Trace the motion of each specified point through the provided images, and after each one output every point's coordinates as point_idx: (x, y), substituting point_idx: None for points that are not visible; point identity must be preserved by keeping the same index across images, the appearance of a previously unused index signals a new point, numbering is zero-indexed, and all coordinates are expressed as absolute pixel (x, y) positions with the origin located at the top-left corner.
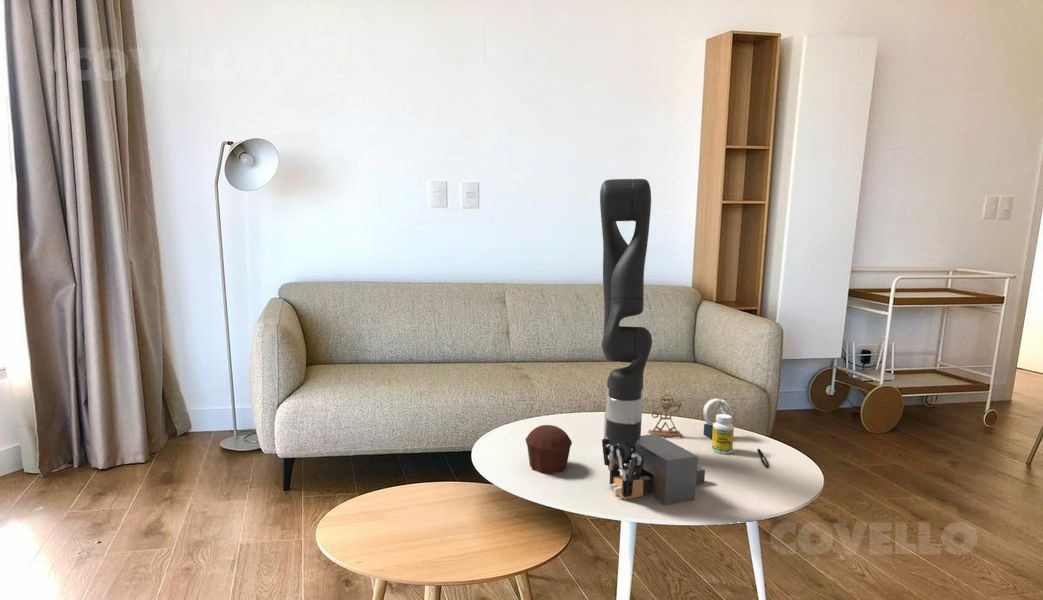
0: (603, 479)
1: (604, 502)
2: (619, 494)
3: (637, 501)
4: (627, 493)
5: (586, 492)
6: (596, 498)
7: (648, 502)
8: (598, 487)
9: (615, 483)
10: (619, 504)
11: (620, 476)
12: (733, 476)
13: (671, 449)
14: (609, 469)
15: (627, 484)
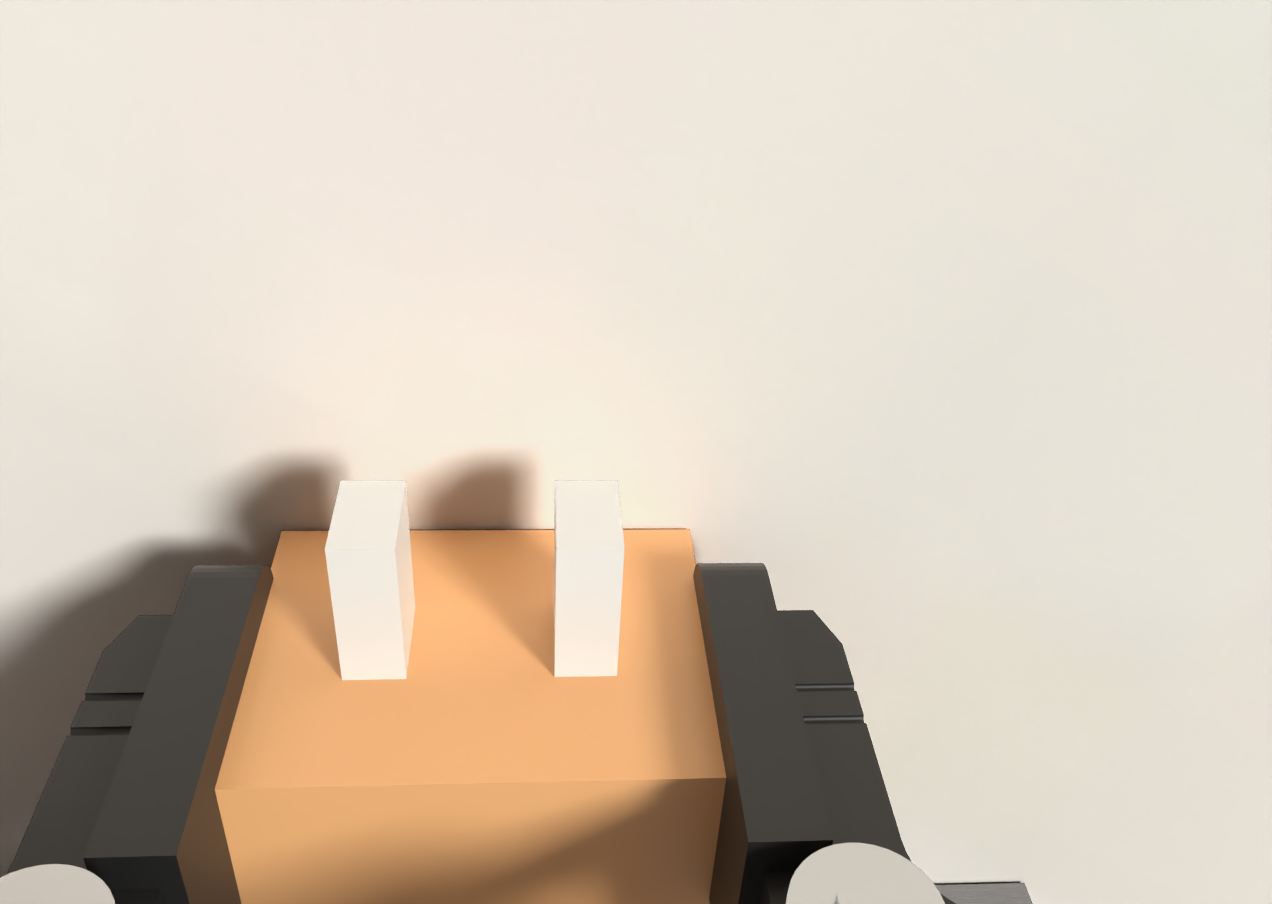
0: (1222, 634)
1: (231, 101)
2: (431, 555)
3: None
4: (111, 659)
5: (942, 7)
6: (517, 45)
7: None
8: (1004, 398)
9: (608, 679)
10: (52, 350)
11: (658, 887)
12: None
13: None
14: (845, 881)
15: (33, 832)
